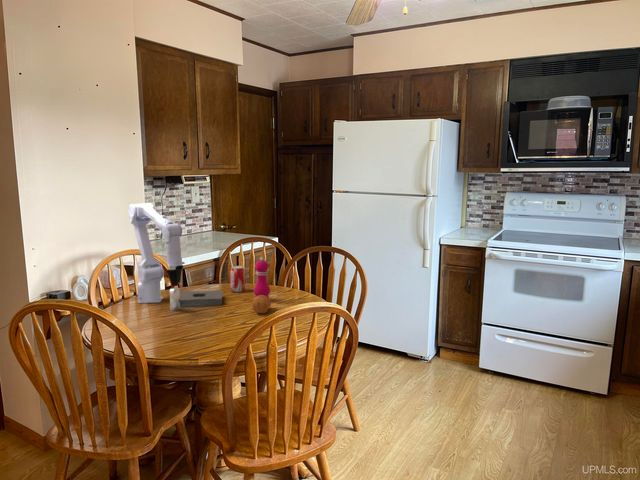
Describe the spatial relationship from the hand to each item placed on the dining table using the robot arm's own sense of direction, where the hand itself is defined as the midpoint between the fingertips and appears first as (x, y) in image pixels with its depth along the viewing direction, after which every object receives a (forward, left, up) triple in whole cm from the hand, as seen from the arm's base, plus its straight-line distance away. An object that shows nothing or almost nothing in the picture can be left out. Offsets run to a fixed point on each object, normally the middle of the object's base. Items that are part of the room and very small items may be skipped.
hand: (176, 284), depth 200 cm
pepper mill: (+36, +9, -11) cm, 39 cm away
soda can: (+25, +28, -11) cm, 39 cm away
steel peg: (-1, 0, -11) cm, 11 cm away
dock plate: (+8, +11, -11) cm, 17 cm away
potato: (+35, -8, -11) cm, 38 cm away
